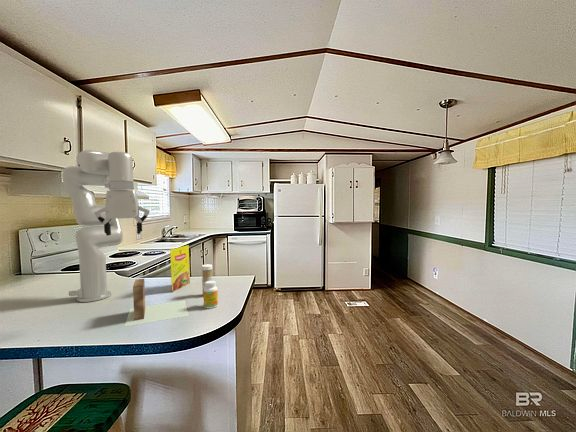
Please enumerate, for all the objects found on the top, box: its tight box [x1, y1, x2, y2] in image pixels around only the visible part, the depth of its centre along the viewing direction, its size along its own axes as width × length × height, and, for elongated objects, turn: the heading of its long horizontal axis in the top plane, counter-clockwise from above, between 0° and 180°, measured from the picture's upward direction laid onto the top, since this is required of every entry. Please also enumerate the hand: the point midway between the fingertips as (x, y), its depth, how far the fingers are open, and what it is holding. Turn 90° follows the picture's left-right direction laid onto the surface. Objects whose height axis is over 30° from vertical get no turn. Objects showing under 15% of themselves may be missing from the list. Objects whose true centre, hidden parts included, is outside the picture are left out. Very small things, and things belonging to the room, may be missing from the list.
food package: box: [169, 244, 191, 293], centre depth 135 cm, size 15×1×20 cm, turn 168°
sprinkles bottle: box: [201, 263, 213, 297], centre depth 123 cm, size 5×5×13 cm
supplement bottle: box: [203, 280, 219, 309], centre depth 109 cm, size 5×5×10 cm
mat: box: [124, 299, 189, 327], centre depth 103 cm, size 20×18×1 cm
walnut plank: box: [132, 278, 146, 321], centre depth 101 cm, size 3×10×12 cm, turn 25°
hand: (124, 234), depth 100 cm, fingers open, 9 cm apart
